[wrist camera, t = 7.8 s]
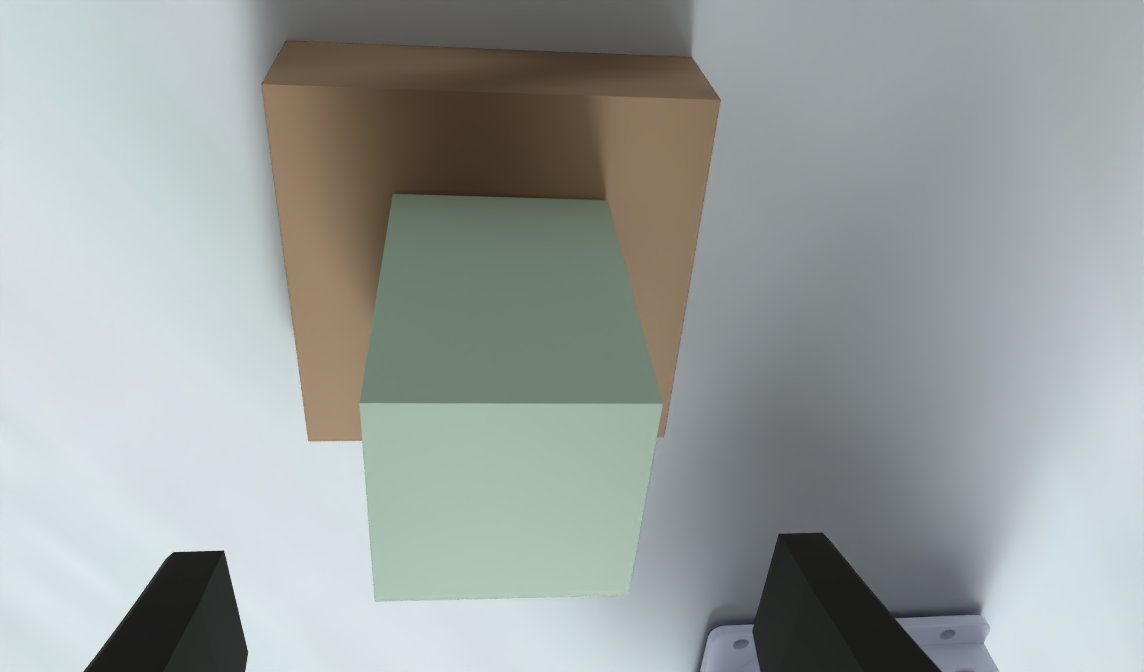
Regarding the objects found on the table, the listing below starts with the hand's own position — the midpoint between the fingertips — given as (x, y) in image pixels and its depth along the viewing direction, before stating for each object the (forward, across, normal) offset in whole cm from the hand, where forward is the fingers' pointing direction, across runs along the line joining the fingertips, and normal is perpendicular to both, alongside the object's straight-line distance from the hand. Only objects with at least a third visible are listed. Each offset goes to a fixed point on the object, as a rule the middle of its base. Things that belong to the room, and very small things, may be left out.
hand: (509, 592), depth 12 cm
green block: (+7, 0, 0) cm, 7 cm away
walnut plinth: (+10, 0, 0) cm, 10 cm away
